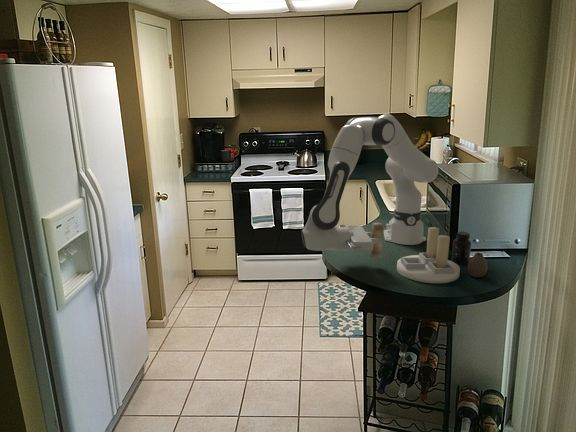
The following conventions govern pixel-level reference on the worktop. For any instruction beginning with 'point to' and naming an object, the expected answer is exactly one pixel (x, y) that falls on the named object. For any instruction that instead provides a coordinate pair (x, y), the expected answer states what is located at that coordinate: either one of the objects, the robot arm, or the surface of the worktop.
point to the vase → (477, 265)
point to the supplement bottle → (461, 248)
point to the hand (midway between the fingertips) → (379, 237)
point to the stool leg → (376, 232)
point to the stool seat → (430, 261)
